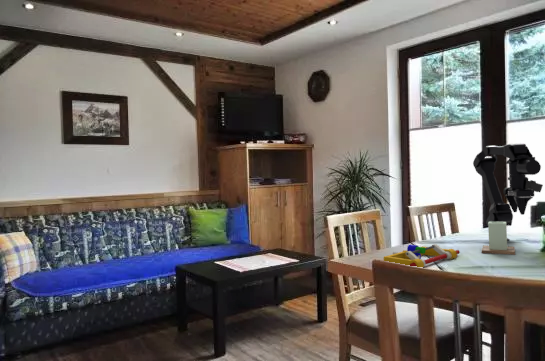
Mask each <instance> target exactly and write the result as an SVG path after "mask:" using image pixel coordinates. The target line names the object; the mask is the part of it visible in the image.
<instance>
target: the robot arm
mask: <svg viewBox="0 0 545 361" xmlns="http://www.w3.org/2000/svg"><path fill="white" fill-rule="evenodd" d="M498 156H503V157H504V158H506V159H507V161H506V162H505V164H506V165H508V174H509V176H508V177H507V181H509V182H508V183H509V187H504V188H503V191H502V192H503V195H504V197H505V199H506V201H507V202H508V203H505V202H504V201H503V197H502V194H501V190H500V189H499V185H498V182H497V179H496V176H495V173H494V172H495V169H496V163H497V162H498ZM472 164H473V168H474V169H475V171H476V174H477V173H478V174H479V175H480V176H481V178H482V181H483V184H484V187H485V190H486V193H487V197H488V200H489V203H490V207H489V211H488V213H489V215H488V217H487V218H486V220H485V223H486V226H488V222H506V227H508V226H509V227H511V226H512V223H513V219H514V214H513V213H517V212H518V211H519V213H520V215H525V213H526V209H527V206H528V202H529V201H531V200H532V199H533V198H534V197H535V192H536V193H541V191H542V188H543V184H541V183H538V182H536V180H531V179H530V180H529V178H528V176H529V175H530V176H533V175H538V174H539V173H540V172H541V168H542V165H541V164H540V161H538V160H537V159H536V157H535V156H534V155H533V154H532V153H531V151H530V149H529V148H528V146H527V144H526V143H521V142H520V143H508V144H504V145H502V146H501V145H499V146H498V145H486V146H484V147H483V149H482V150H481V151H479V153H477V155H476V156H475V157H474V159H473V162H472ZM527 175H528V176H527ZM510 240H511V239H510V238H508V237H507V241H510Z"/></svg>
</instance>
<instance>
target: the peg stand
mask: <svg viewBox="0 0 545 361" xmlns="http://www.w3.org/2000/svg"><path fill="white" fill-rule="evenodd" d="M515 248H516V247H515V246H508V245H507V250H493V249H489V245H482V248H481V254H490V253H491V254H492V255H495V254H497V255H514V256H515V255H516V249H515Z"/></svg>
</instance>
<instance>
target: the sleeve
mask: <svg viewBox="0 0 545 361" xmlns="http://www.w3.org/2000/svg"><path fill="white" fill-rule="evenodd" d="M507 232H508V231H507V226H506V222H488V246H489V249H493V250H507V246H508V240H507V238H508V236H507V234H508V233H507Z"/></svg>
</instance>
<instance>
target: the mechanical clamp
mask: <svg viewBox="0 0 545 361" xmlns="http://www.w3.org/2000/svg"><path fill="white" fill-rule="evenodd" d="M459 254H460V250H459V249H456V250H455V249H454V248H449V249H448V248H447V249H446V248H441V247H440V245H438V244H436V243H435V244H434V243H433V244H432V245H431V246H419V245H416V244H409V245H407V249H406V250H405V249H403V250H402V251H401V252H399V251H398V252H397V251H393V252H392V254H389V255H386V256H383V262H384V261H389V262H395V263H400V264H405V265H410V266H417V267H424V268H425V266H426V265H428V264H432V263H435V262H438V261H442V260H444V261H447V260H453V258H454V259H456V258H457V256H458V255H459ZM422 256H430V258H427V259H423V258H422Z"/></svg>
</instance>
